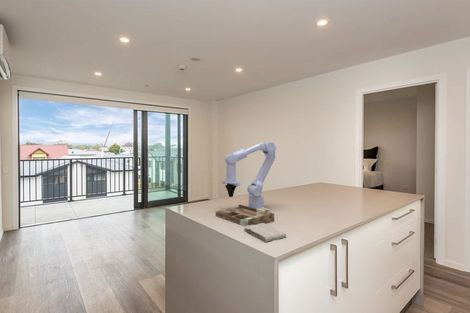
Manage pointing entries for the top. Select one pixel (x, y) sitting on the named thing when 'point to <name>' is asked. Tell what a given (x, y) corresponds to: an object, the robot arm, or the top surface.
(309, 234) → the top surface
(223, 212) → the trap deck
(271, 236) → the washcloth
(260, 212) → the birch block
